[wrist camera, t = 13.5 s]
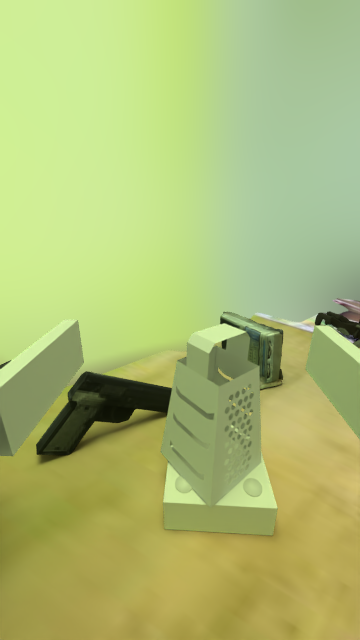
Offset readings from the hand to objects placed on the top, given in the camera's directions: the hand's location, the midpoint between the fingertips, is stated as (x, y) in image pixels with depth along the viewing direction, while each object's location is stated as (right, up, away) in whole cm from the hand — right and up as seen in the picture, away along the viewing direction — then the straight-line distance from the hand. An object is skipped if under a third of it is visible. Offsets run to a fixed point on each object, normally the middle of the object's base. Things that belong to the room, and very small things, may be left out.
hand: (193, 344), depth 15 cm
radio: (+17, -12, +58) cm, 62 cm away
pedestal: (+5, -24, +26) cm, 35 cm away
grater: (+4, -19, +24) cm, 31 cm away
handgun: (-12, -21, +36) cm, 44 cm away
